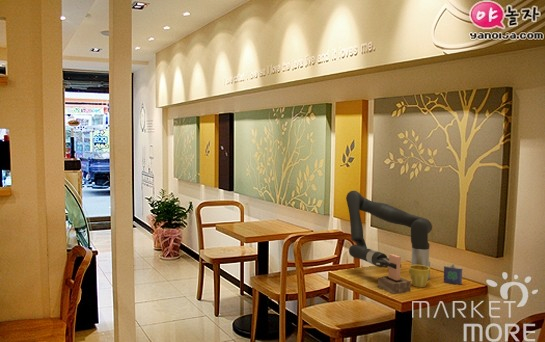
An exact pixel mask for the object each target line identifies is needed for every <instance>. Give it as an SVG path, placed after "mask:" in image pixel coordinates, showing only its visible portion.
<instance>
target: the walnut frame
mask: <svg viewBox="0 0 545 342" xmlns="http://www.w3.org/2000/svg"><path fill="white" fill-rule="evenodd" d="M411 285H412V280H409V279H406V278H403V277H401V276H400V280H397V281H396V280H394V279H391V278H389V277H388V275H383V276H379V277H378V278H377V288H379V289H382V290H383V289H384V291H386V292H388V293H390V294H392V295H395V294H402V293H407V292H411Z"/></svg>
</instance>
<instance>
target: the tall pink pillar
mask: <svg viewBox="0 0 545 342" xmlns="http://www.w3.org/2000/svg"><path fill="white" fill-rule="evenodd" d="M388 258H389V262H391V263H393V264H396V265H397V269H394V268H391V267H390V268H389V267H388V275H387V276H388V277H389V278H391V279H394V280H396V281H397V280H400V277H401V268H402V263H401V260H402V256H399V255H396V254H394V253H390V254H389V255H388ZM400 267H401V268H400Z"/></svg>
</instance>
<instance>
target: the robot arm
mask: <svg viewBox="0 0 545 342" xmlns="http://www.w3.org/2000/svg"><path fill="white" fill-rule="evenodd" d="M345 197H346V198H345V200H346V204H347V209H348V213H349V221H350V223H349V225H350V237H351V241H352V242H354V243H355V244H352V245H350V246H349V248H348V253H349V255H350V257H352V258H355V259H359V260H362V261H365V262H367V263H369V264H371V265H373V266H376V267H378V268H387V269H389V268H390V267H391V268H394V269H397V265H396V264H393V263H391V262H389V257H388V256H387V254H385V253H383V252H380V251H377V250H374V249H370V248H368V247H367V244H366V241H365V238H364V227H363V223H362V218H361V213H360V211H362V212H365V213H368V214H370V215H371V216H374V217H376V218H378V219H380V220H382V221H385V222H387V223H390V224H394V225H401V226H405V227H408V228H410V242H411V258H410V259H411V262H410V263H411V265H424V266H427V267H429V268H430V269H431V262H430V243H429V239H428V236H429V235H428V234H429V233H431V232H432V231H433V224H432V222H431V221H430V220H429V219H427V218H425V217H422V216H418V215H414V214H411V213H409V212H406V211H405V210H401V209H399V208H397V207H394V206H392V205H390V204H387V203H385V202H378V201H373V200H370V199H368V198H366V197H364V196H363V195H362V194H361V192H358V191H357V190H350V191H349V192H347V194H346V196H345ZM411 265H410V266H411ZM401 268H402V266H401V267H400V269H401ZM430 274H431V273H430ZM430 274H429V275H428V278H427V281H428V280H429V279H430V276H431V275H430Z"/></svg>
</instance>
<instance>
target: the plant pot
mask: <svg viewBox="0 0 545 342" xmlns="http://www.w3.org/2000/svg"><path fill="white" fill-rule="evenodd" d="M408 272H409V274H410V279H411V285H412V286H413V287H416V288H424V287H425V288H426V286H427V281H428V280H427V278H428V275H429V274H431V267H430V268H429V267H427V266H424V265H410V266H409V268H408Z"/></svg>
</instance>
